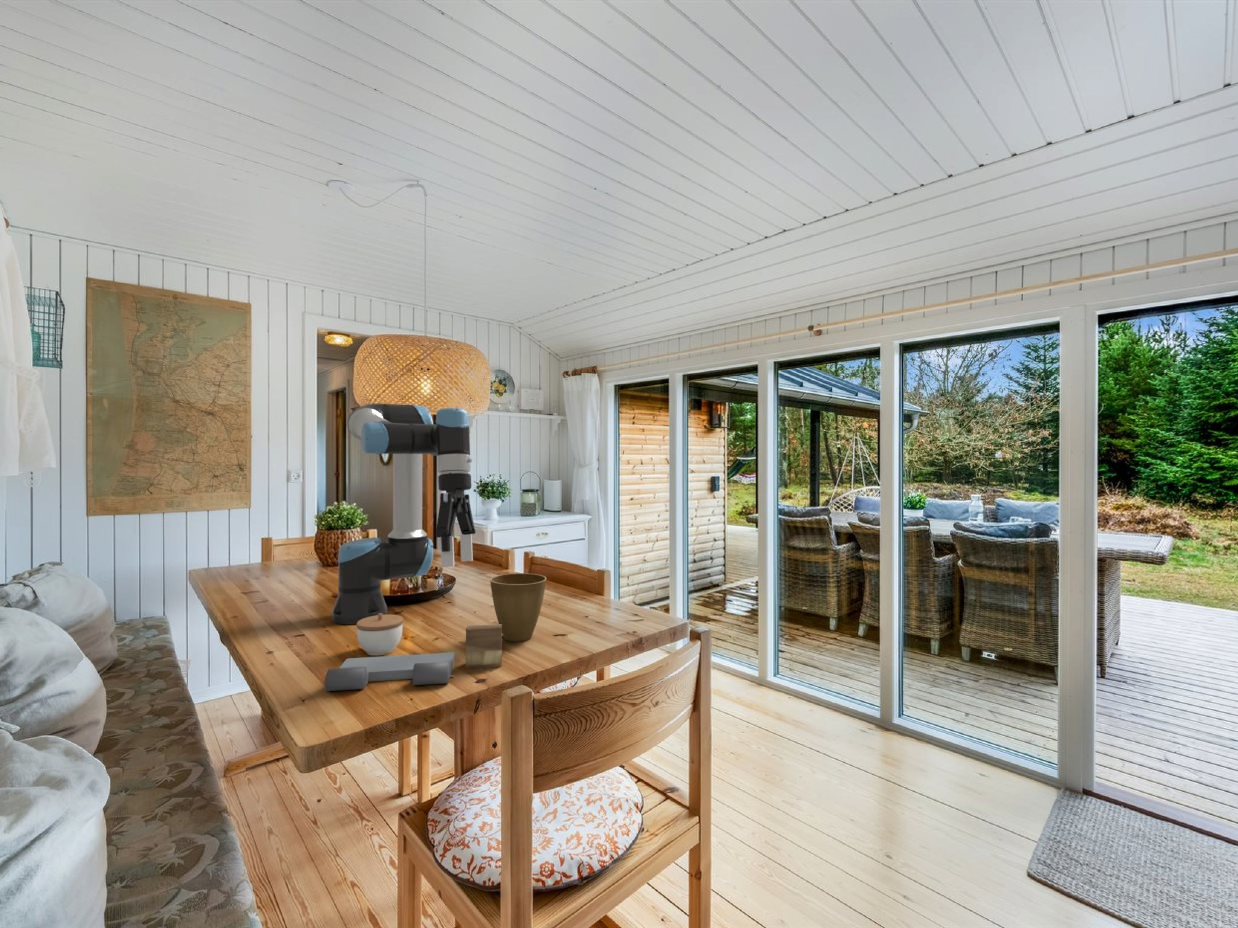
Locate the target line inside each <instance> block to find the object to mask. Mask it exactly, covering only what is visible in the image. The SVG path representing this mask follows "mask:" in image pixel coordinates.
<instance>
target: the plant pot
mask: <svg viewBox="0 0 1238 928" xmlns="http://www.w3.org/2000/svg"><path fill="white" fill-rule="evenodd" d="M489 581H490V587H491V597H492V602H493V606H494V611H495V614H496V615H495V616H496V619H497V622H498V624H502V637H503V639H504V640H506V641H509V642H524V641H528V640H530V639H531V638H532V636H533V634H534V631H535V628H536V625H537V624H538V620H539V616H540V613H541V609H542V605H543V602H544V595H545V591H546V584H547V577H546V576H545V575H541V574H537V573H524V572H523V573H522V572H521V573H504V574H500V575H496V576H493V577H491V578H490V579H489Z"/></svg>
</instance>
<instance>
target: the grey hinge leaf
mask: <svg viewBox="0 0 1238 928" xmlns="http://www.w3.org/2000/svg"><path fill="white" fill-rule="evenodd" d="M455 661H456V652H455V651H454V652H438V653H437V652H435V653H419V654H417V653H416V654H402V655H401V654H399V655H388V656H386V655H384V656H383V655H382V656H370V657H369V656H367V657H353V658H352V657H351V658H348V657H347V658H346V659H345V661H344V662H343V663H342V664H341V665H340V666H339V667H332V668H328V669H327V671H326V673H325V679H324V689H325V691H326V692H335V691H338V692H339V691H349V690H350V691H351V690H364V689H365V688H366V686H367V685H368V683H369V682H379V681H381V682H382V681H394V680H395V681H396V680H409V679H410V680H411V679H412V685H413V686H423V685H441V684H449V681H450V679H449V678H451V676H450V675H452V671H453V669H454V666H455Z"/></svg>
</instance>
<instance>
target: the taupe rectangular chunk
mask: <svg viewBox="0 0 1238 928" xmlns="http://www.w3.org/2000/svg"><path fill="white" fill-rule="evenodd" d="M502 637H503V635H502V624H499V623H498V624H497V623H495V624H476V625H467V626H466V628H465V669H466V668H468V669H479V668H483V669H484V668H497V667H502V665H503V661H502V659H503V650H502V649H503V638H502Z"/></svg>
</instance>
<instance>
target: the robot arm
mask: <svg viewBox="0 0 1238 928" xmlns="http://www.w3.org/2000/svg"><path fill="white" fill-rule="evenodd" d="M435 414H436V415H435V420H433V417H432V414H431V412H430V409H428V408H427V407H426V406H424V405H415V404H396V403H395V404H394V403H393V404H392V403H370V404H369V403H368V404H365V405H364V404H363V405H361V406H359V407H357V408H355V409H354V410H353V411H352V412H351V413H350V414H349V416H348V417H347V423H346V424H347V429H348V431H349V433H350V434H351V436H353V437H354V438H356V439H357V440H359V441H361V442H360V443H361V447H362V451H363V452H364V453H366V454H373V455H382V454H383V455H387V454H389V455H392V454H393V456H392V457H393V459H392V460H393V464H392V465H393V468H392V470H393V471H392V472H393V474H392V475H393V476H392V477H393V479H392V480H393V481H392V482H393V483H392V484H393V486H392V488H393V489H392V490H393V491H392V492H393V493H392V497H393V498H392V502H393V503H392V530H391V532H389V533H388V535H387V541H382V540H381V538H380V537H366V538H360V539H354V540H351V541H348V542H345V543H343V544H342V545H341V546H340V547H339V549H338V555H337V563H338V575H337V576H338V590H337V591H338V592H337V593H338V594H337V597H336V600H335V602H334V606H333V609H332V611H331V621H332V622H333V623H335V624H339V625H357V622H358V621H359V620H361V619H364V618H367V617H371V616H376V615H378V614H379V613H382V614H383V615H388V606H387V603H386V602H385V598H384V596H383V595H384V594H383V592H382V587H381V586H382V584H381V583H382V581H388V580H396V579H407V578H411V579H412V578H415V577H421V576H425V575H427V574H428V572H429V571H430V569H431V567H432V563H433V558H434V548H433V547H434V543H433V541H432V539H431V538H428V533H427V532H426V531H425V530H424V529H423V456H424V455H431V456H434V457H436V459H437V460H436V461H437V472H438V473H439V475H438V477H437V479H438V481H437V482H438V484H437V485H438V490H439V492H440V491H441V493H440V494H439V501H440V502H439V508H438V515H437V522H436V530H435V537H436V538H439V539H440V540H439V541H440V565H441V568H447V567H448V568H449V567H455V549H454V548H455V545H454V544H455V543H454V541H455V540H454V536H453V530H454V526H455V523H456V520H457V522H458V523H457V524H458V526H459V529H460V532H461V534H460V535H459V539H460V541H459V542H460V562H473V561H474V558H473V557H474V556H473V553H474V552H473V535H475V534H476V529H475V524H474V519H473V518H474V517H473V513H472V508H471V503H470V494H465V491H469V490H471V489H472V475H471V474H470V472H471V463H473V459H472V458H471V442H470V439H471V438H470V425H471V424H470V419H469V413H468V411H467V410H466V409H463V408H459V407H458V408H457V407H447V408H439V410H437V411H436V413H435ZM434 421H435V424H434Z"/></svg>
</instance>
